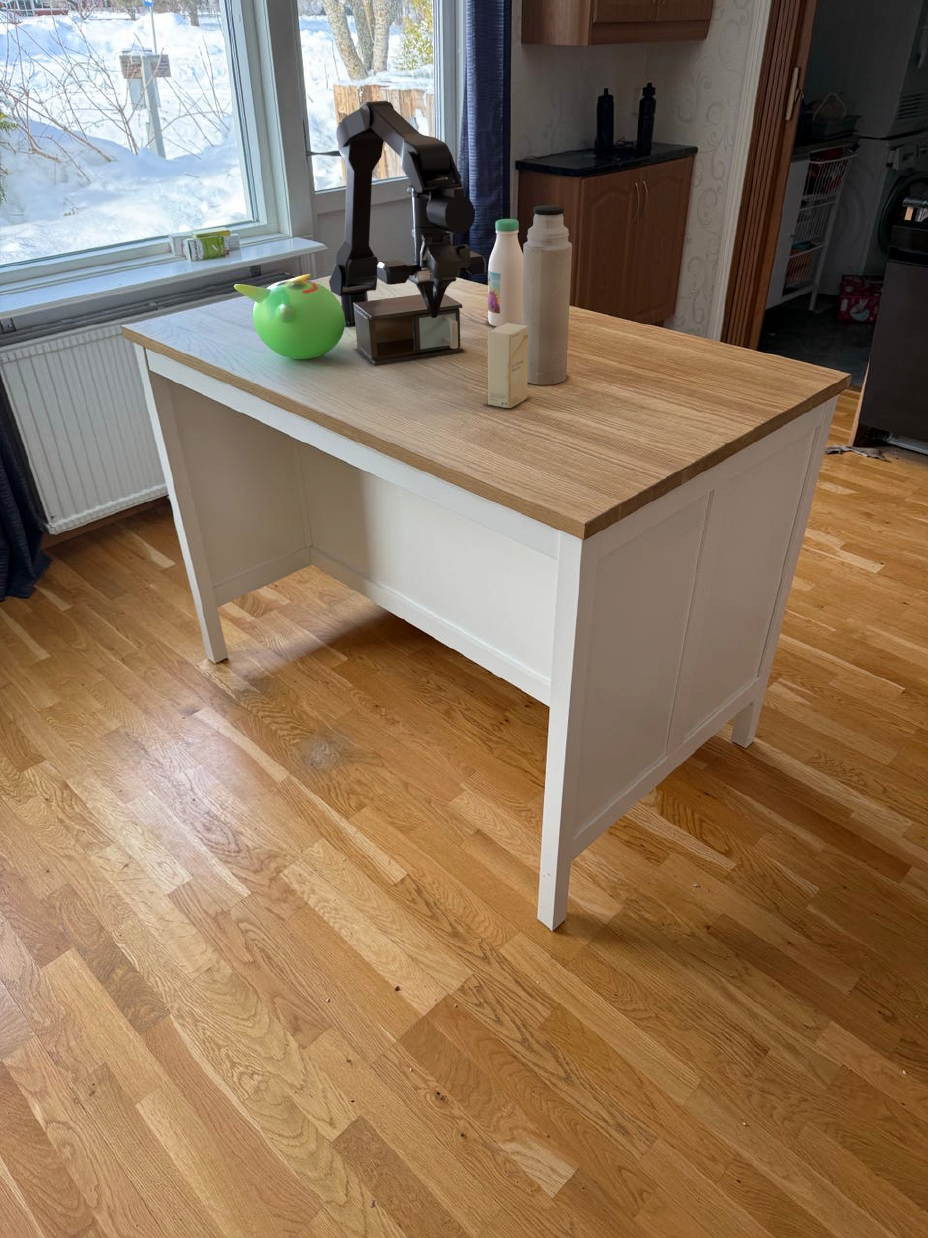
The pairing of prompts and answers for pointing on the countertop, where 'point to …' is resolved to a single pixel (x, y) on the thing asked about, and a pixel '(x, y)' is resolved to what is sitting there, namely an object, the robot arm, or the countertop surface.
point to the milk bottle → (505, 276)
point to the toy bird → (296, 317)
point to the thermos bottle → (547, 295)
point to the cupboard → (394, 328)
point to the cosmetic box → (507, 365)
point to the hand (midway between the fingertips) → (433, 317)
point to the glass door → (437, 331)
